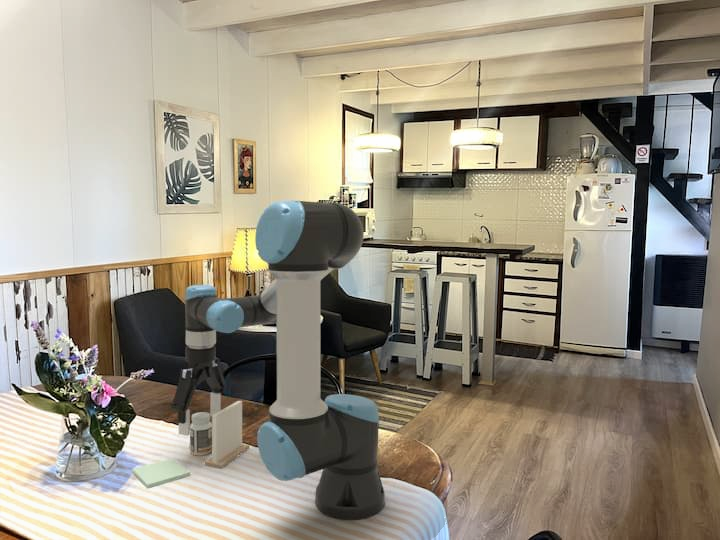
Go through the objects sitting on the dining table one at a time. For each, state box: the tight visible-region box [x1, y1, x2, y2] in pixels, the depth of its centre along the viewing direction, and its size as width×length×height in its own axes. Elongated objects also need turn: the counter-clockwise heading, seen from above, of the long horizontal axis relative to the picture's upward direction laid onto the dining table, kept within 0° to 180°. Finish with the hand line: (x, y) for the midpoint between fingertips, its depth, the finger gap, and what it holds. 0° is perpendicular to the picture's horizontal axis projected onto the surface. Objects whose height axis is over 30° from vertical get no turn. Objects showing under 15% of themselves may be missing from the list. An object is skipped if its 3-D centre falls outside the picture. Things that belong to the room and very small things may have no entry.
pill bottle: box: [189, 411, 212, 456], centre depth 145 cm, size 6×6×10 cm
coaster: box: [131, 457, 191, 489], centre depth 133 cm, size 10×10×1 cm
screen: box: [203, 400, 250, 469], centre depth 142 cm, size 13×5×13 cm, turn 161°
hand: (200, 425), depth 145 cm, fingers open, 13 cm apart
